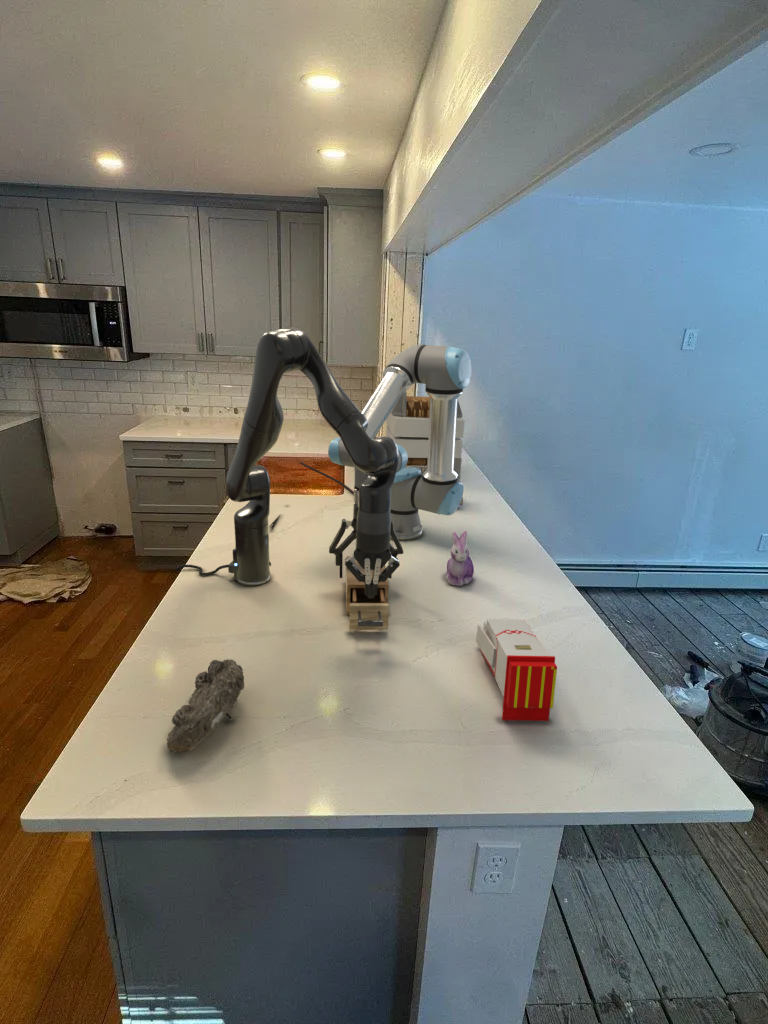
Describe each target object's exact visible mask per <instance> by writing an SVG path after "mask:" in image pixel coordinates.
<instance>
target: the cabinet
mask: <svg viewBox="0 0 768 1024" xmlns="http://www.w3.org/2000/svg"><path fill="white" fill-rule="evenodd" d="M351 556H352V555H346V556H345V558H347V557H348V558H350V557H351ZM355 561H356V567H357V568H358V569H359V570H360V571H361V573H362V574H364V575H365V569H363V568H362V567H361V566H360V564H359V563H358V562H357V560H355ZM386 567H387V565H386V564H385V565H384V567H383V568H381V569H380V574H381V573H382V571H383V570H384V569H385V568H386ZM370 574H371V580H372V576H373V570H370ZM352 588H365V583H364V582H359V581H358V580H357V579H356V578H355V576H354V575H353V574H352V573H351V572H350V570H349V569H348V568H347V567H346V566H345V611H346V612H345V614H346V615H349V616H350V603H352ZM377 588H383V593H384V600H385V603H389V592H390V591H389V590H390V589H389V588H390V583H389V578H388V579H387V580H386V581H385V582H379V583H378V587H377Z"/></svg>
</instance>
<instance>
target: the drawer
mask: <svg viewBox="0 0 768 1024" xmlns="http://www.w3.org/2000/svg"><path fill="white" fill-rule="evenodd" d="M389 614H390V603H389V602H388V603H385V600H384V593H383V588H377V595H376V596H374V598H368V596H366V595H365V588H352V603H350V615H349V617H348V618H349V624H348V629H349V631H385V630H386V631H388V630H389Z"/></svg>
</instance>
